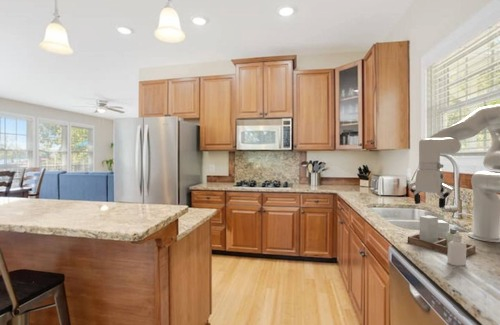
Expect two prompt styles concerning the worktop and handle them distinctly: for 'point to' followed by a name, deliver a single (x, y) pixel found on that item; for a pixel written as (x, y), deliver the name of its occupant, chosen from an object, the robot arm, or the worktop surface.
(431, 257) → the worktop surface
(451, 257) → the eye dropper bottle
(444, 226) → the skincare box
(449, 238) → the sage bottle
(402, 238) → the worktop surface
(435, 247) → the wooden frame
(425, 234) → the skincare box
